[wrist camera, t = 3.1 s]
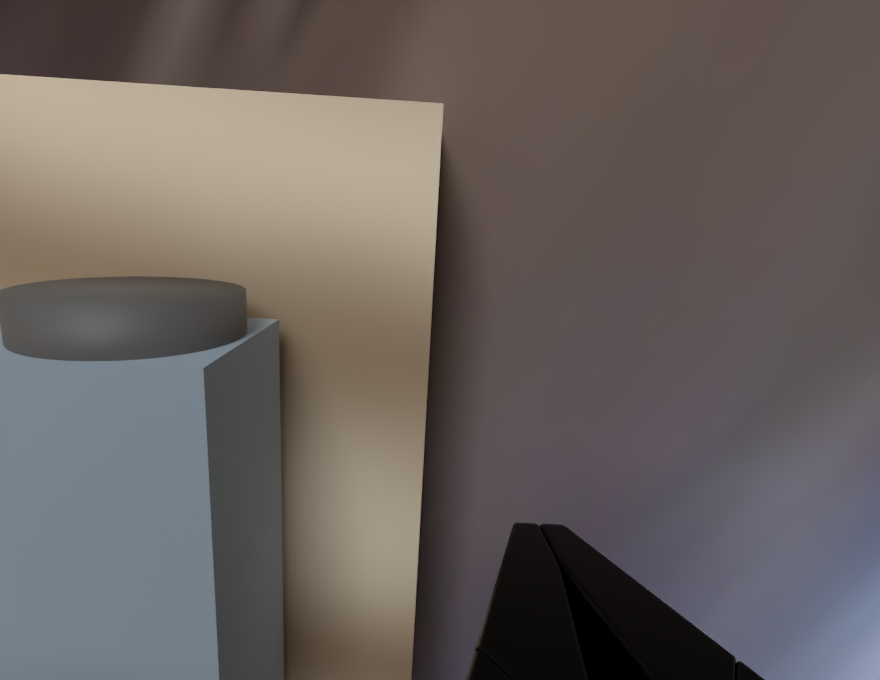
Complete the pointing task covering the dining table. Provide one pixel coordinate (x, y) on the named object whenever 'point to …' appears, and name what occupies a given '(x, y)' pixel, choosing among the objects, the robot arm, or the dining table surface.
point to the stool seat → (269, 300)
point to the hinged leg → (139, 482)
